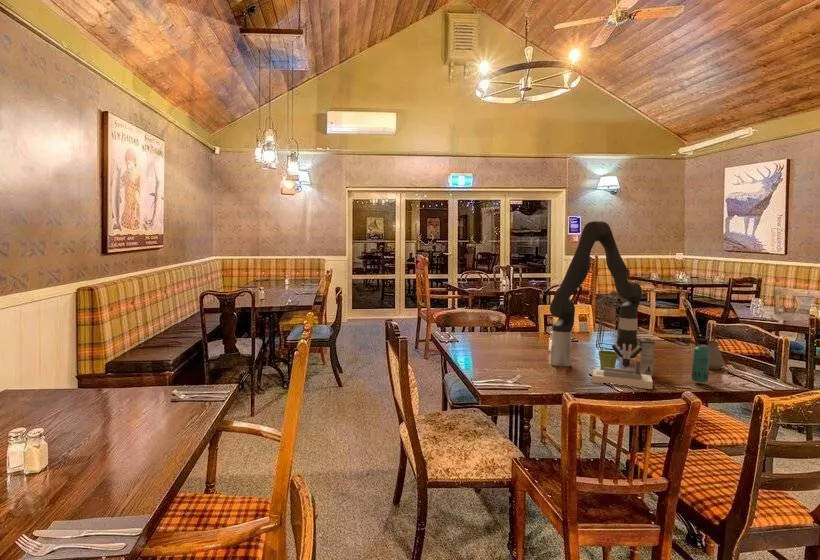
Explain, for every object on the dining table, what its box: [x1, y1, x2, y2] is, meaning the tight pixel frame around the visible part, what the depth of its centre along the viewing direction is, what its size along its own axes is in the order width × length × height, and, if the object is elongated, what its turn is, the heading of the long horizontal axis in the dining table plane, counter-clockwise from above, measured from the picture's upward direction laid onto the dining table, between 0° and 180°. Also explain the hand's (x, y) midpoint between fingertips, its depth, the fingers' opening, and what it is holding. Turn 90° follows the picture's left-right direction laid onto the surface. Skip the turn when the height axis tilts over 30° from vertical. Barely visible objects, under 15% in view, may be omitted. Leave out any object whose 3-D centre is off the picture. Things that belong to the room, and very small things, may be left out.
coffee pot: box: [679, 336, 726, 370], centre depth 253 cm, size 21×12×15 cm, turn 87°
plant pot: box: [597, 350, 619, 370], centre depth 244 cm, size 9×9×9 cm
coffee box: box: [634, 337, 656, 377], centre depth 240 cm, size 9×6×16 cm
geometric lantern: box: [595, 291, 626, 352], centre depth 276 cm, size 16×16×35 cm
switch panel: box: [591, 367, 653, 390], centre depth 224 cm, size 24×12×5 cm, turn 68°
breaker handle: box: [633, 354, 641, 375], centre depth 222 cm, size 3×6×9 cm, turn 158°
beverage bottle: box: [691, 338, 710, 383], centre depth 223 cm, size 6×7×20 cm
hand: (626, 366), depth 223 cm, fingers closed
